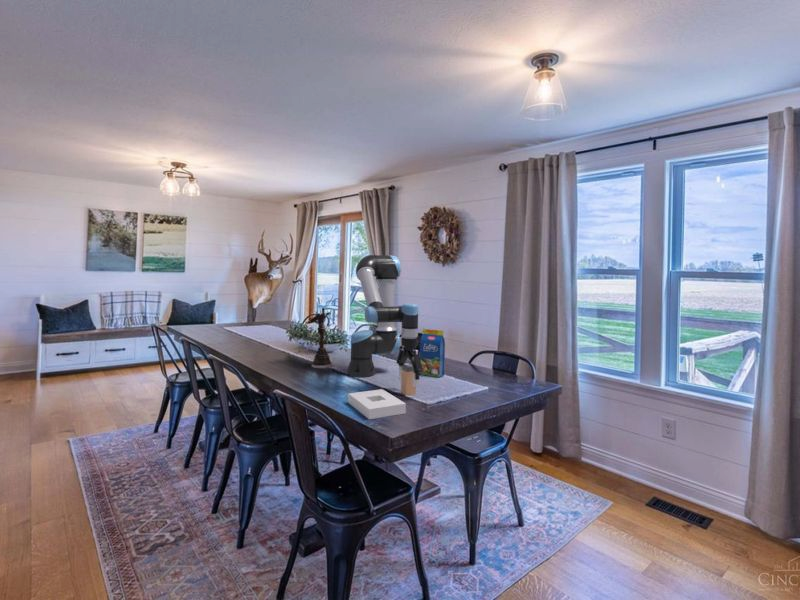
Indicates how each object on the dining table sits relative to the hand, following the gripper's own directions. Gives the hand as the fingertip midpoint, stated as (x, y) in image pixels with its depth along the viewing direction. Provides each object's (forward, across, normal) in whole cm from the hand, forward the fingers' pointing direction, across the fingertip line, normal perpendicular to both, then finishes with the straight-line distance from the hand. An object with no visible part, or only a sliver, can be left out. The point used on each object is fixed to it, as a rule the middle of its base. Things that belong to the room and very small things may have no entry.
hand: (408, 382), depth 195 cm
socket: (+5, +12, -22) cm, 25 cm away
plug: (+5, 0, 0) cm, 5 cm away
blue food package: (+5, -24, +28) cm, 37 cm away
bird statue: (+5, -70, -22) cm, 74 cm away
